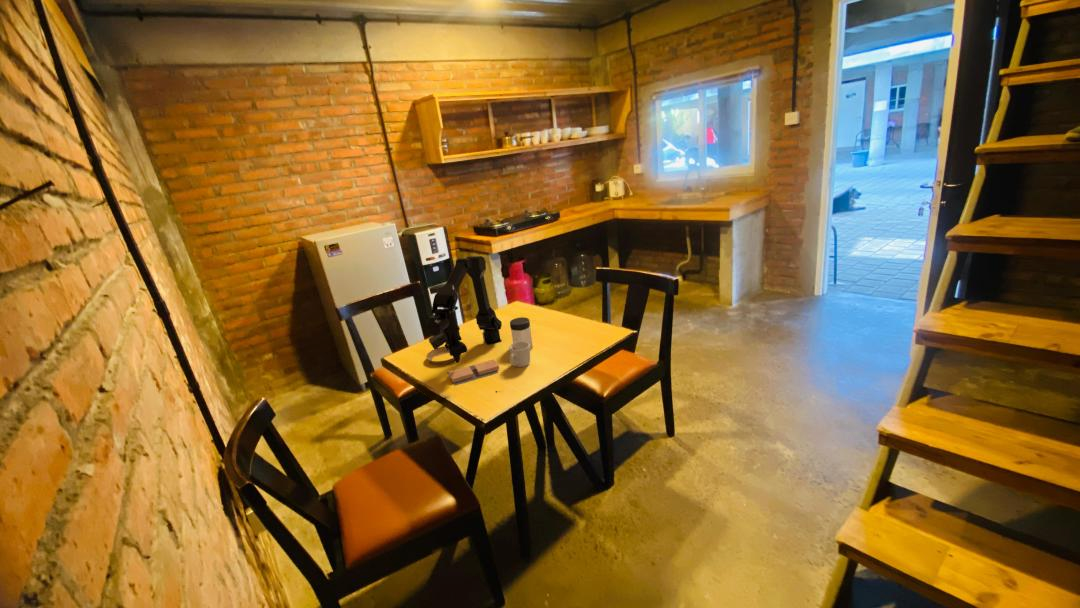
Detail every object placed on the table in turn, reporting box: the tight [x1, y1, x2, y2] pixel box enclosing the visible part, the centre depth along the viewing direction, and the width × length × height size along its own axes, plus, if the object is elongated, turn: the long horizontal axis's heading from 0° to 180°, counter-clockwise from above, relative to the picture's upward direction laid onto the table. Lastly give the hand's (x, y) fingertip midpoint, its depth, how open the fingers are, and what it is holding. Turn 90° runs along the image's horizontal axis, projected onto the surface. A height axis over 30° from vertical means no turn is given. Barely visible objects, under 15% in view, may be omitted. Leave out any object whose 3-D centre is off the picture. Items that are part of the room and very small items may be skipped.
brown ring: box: [425, 345, 455, 365], centre depth 188 cm, size 15×15×3 cm
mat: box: [447, 364, 499, 387], centre depth 173 cm, size 17×12×1 cm
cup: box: [508, 341, 531, 368], centre depth 173 cm, size 11×8×8 cm
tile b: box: [448, 365, 474, 384], centre depth 171 cm, size 8×2×6 cm
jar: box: [509, 316, 534, 350], centre depth 188 cm, size 9×8×12 cm
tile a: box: [473, 358, 500, 375], centre depth 174 cm, size 8×2×6 cm
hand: (457, 362), depth 173 cm, fingers closed
